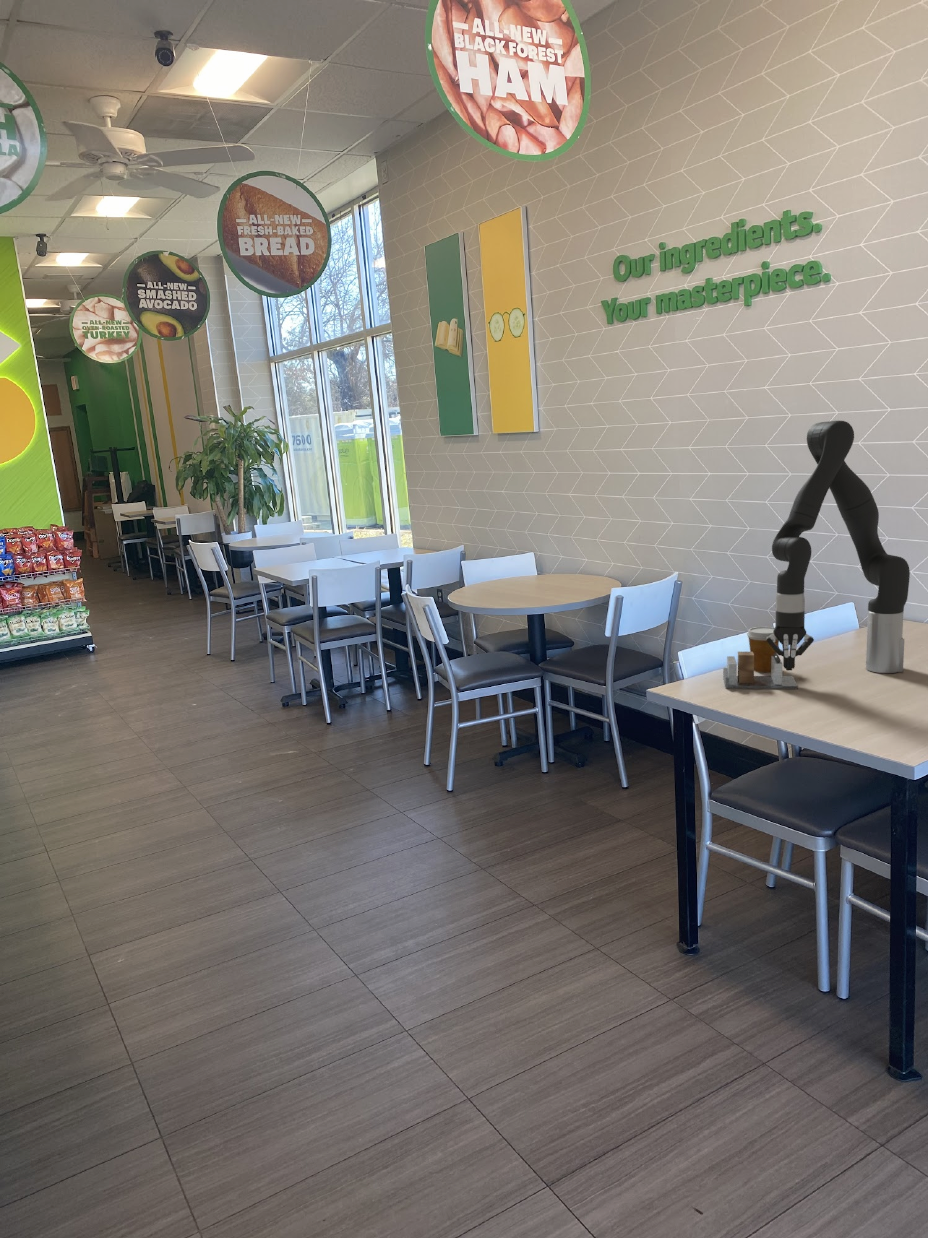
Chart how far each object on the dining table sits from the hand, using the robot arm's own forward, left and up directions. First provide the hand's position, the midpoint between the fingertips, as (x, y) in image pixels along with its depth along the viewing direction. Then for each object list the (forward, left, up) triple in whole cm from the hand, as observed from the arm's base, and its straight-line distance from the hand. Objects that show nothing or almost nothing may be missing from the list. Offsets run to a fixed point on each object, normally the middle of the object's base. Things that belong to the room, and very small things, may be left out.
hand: (788, 669), depth 250 cm
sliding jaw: (+3, 0, -4) cm, 5 cm away
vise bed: (+8, 0, -4) cm, 9 cm away
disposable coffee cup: (+5, -15, -4) cm, 17 cm away
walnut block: (+11, 0, -3) cm, 12 cm away
